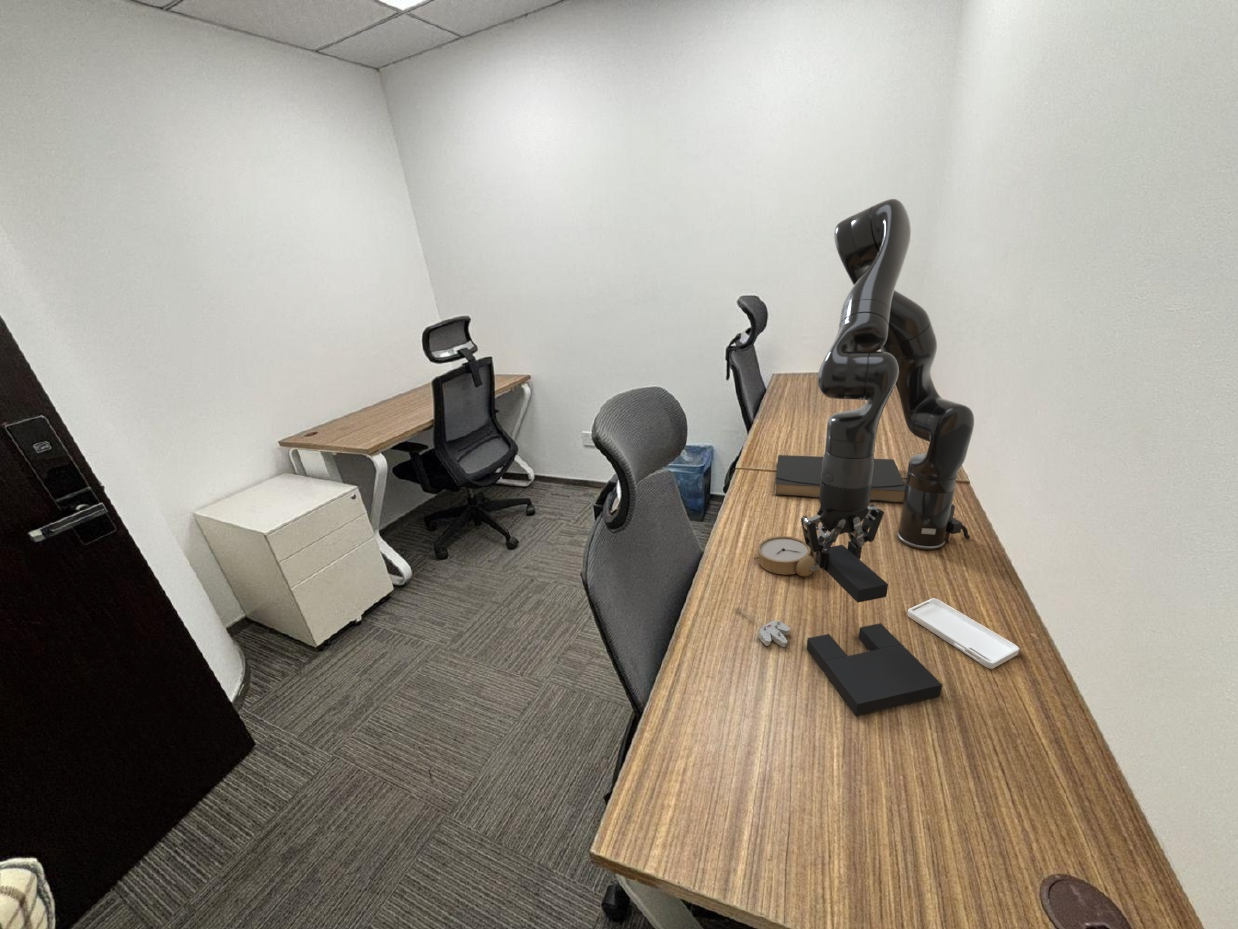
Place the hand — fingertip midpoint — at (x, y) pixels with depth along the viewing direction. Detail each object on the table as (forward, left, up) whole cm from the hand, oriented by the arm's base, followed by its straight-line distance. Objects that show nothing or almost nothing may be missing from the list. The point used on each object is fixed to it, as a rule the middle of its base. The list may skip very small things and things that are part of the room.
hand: (837, 564), depth 84 cm
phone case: (-20, +8, -14) cm, 25 cm away
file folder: (-35, -54, -14) cm, 66 cm away
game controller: (+12, -3, -14) cm, 19 cm away
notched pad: (0, +11, -13) cm, 17 cm away
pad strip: (0, +3, 0) cm, 3 cm away
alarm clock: (-3, -20, -14) cm, 24 cm away
